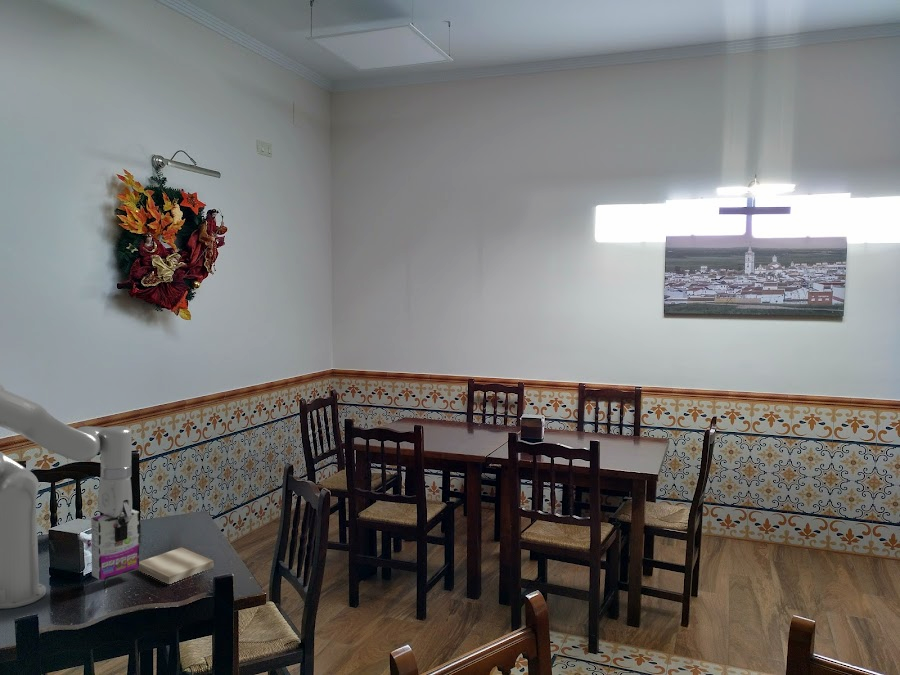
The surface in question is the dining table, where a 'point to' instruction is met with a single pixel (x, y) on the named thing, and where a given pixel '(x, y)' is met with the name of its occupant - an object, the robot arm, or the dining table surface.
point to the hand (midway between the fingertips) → (115, 536)
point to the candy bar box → (114, 547)
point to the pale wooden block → (175, 565)
